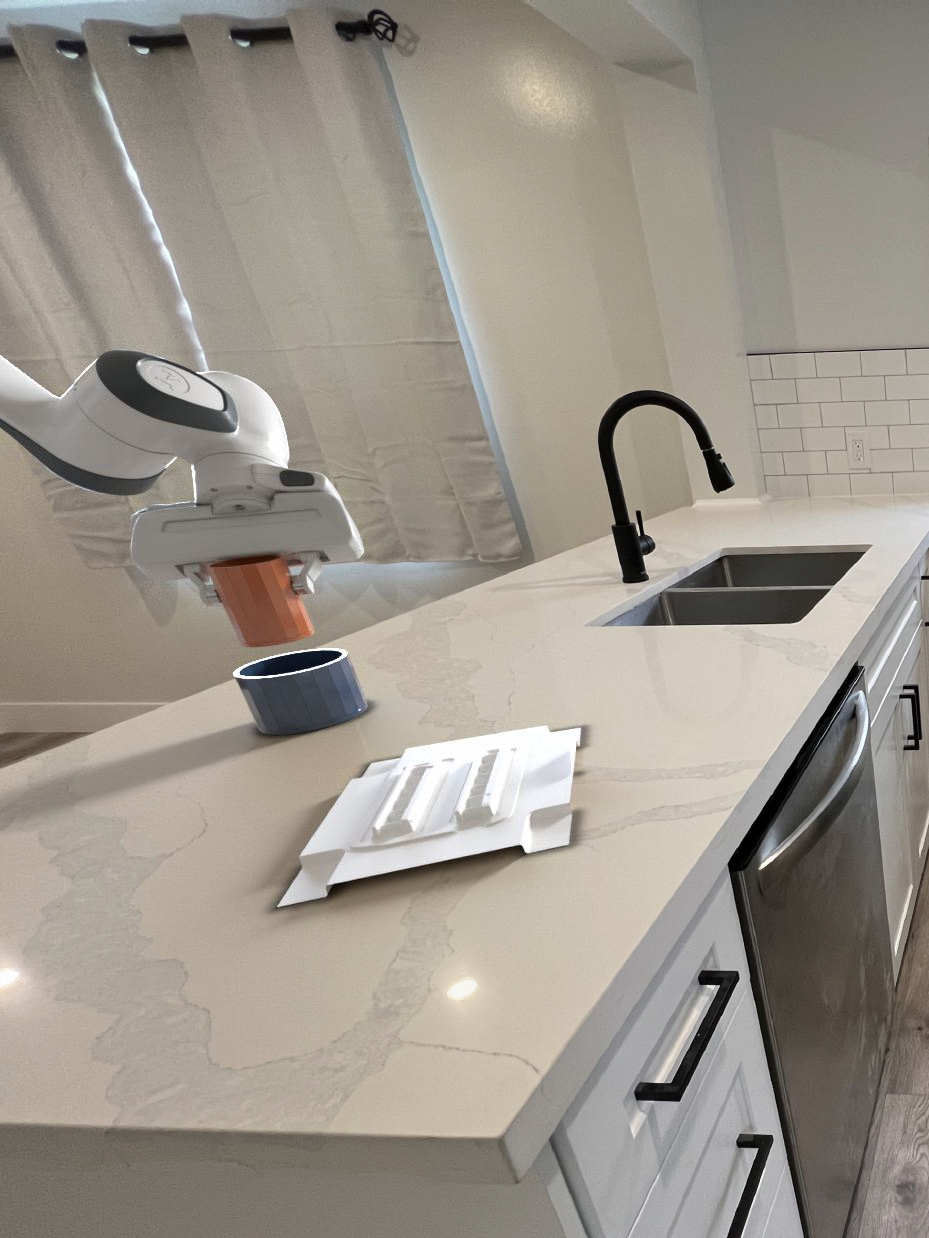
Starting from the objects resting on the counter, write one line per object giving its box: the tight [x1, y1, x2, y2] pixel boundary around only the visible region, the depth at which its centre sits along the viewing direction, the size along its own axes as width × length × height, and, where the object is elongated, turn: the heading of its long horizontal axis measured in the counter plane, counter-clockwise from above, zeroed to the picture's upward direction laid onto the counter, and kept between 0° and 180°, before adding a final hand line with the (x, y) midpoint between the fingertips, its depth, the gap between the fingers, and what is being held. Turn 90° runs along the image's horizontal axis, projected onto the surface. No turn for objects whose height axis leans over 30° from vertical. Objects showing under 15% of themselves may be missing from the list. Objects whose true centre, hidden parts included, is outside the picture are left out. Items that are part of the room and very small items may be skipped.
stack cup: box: [232, 648, 369, 736], centre depth 95 cm, size 11×11×7 cm
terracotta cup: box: [206, 555, 316, 648], centre depth 91 cm, size 7×7×9 cm
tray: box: [277, 724, 582, 908], centre depth 75 cm, size 20×28×4 cm
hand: (259, 597), depth 90 cm, fingers closed on terracotta cup, 7 cm apart
